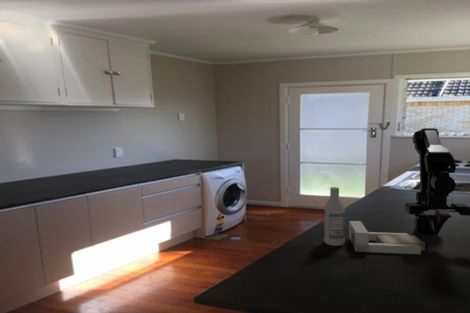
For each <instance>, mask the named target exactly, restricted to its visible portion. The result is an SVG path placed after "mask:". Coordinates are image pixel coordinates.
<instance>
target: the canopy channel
mask: <svg viewBox="0 0 470 313" xmlns="http://www.w3.org/2000/svg"><path fill="white" fill-rule="evenodd" d="M348 226H349V227H348V230H349V232H348V235H349V241H350V242H351V243H353V244H352V246H353V249H354V251H355V252H357V253H377V254H379V253H382V254H405V255H421V253H422V251H421V246H420V245H415V244H387V243H376V235H409V234H408V233H406V232H381V231H380V232H375V231H374V232H372V231H368V230H367V228H366V226H365V225H364V224H363V222H362V221H361V220H349V224H348ZM370 241H371V242H370ZM372 241H373V242H372ZM374 241H375V242H374Z"/></svg>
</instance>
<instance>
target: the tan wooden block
mask: <svg viewBox="0 0 470 313" xmlns="http://www.w3.org/2000/svg"><path fill="white" fill-rule="evenodd" d="M375 243H387V244H415V245H420V246H421V252H422V251H425V250H426V249H425V248H426V245H425V244H426V243H425V242H424V241H423V240H421V239H420V238H419V237H417V236H416V235H413V234H412V235H410V234H408V235H376V241H375Z"/></svg>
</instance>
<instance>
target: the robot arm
mask: <svg viewBox="0 0 470 313" xmlns="http://www.w3.org/2000/svg"><path fill="white" fill-rule="evenodd" d="M412 135H413V136H412V144H413V145H414V150H415V151H416V152H417V154H418V157H419V158H418V159H419V185H420V186H419V187H420V190H419V191H416V192H415V201H414V202H406V203H405V204H404V211H405V212H406V213H408V214H409V215H413V216H414V217H415V218H413V219H414V220H413V221H414V223H413V229H414V230H415V231H416V232H417V233H418V234H424V235H439V234H440V231H441V229H442V228H443V226H444V225H445V223H446V222H447V221H448V220H449V218H450V219H451V218H452V215H451V213H458V214H459V215H460V216H466V217H470V206H468V205H466V204H465V203H457V202H456V203H451V204H450V206H449V204H448V197H449V196H450V194H452V193H453V192H454V191H455V189H456V187H457V184H456V181H455V179H454V178H453V177H451V176H450V174H455V173H456V170H457V166H456V162H455V158H454V157H453V154H451V151H450V149H448V147H445V146H443V145H442V143H441V140H440V132H439V131H438V128H436V127H422V128H421V129H420V130H417V131H415V132H414V133H413V134H412Z"/></svg>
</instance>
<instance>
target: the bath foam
mask: <svg viewBox="0 0 470 313" xmlns="http://www.w3.org/2000/svg"><path fill="white" fill-rule="evenodd" d="M329 190H330V192H329V194H330V197H329V199H328V201H327V202H326V203H325V206H324V213H323V214H324V217H323V220H324V222H323V224H324V225H323V226H324V227H323V228H324V230H323V231H324V233H323V235H324V237H323V238H324V239H323V240H324V244H326V245H328V246H333V247H334V246H335V247H337V246H338V247H339V246H343V245H344V244H345V240H346V239H345V236H346V232H345V231H346V228H345V226H346V220H345V219H346V218H345V217H346V213H345V212H346V211H345V209H346V208H345V206H344V204H343V202H342V200H341V199H340V188H339V187H338V186H331V187H330V189H329Z"/></svg>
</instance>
